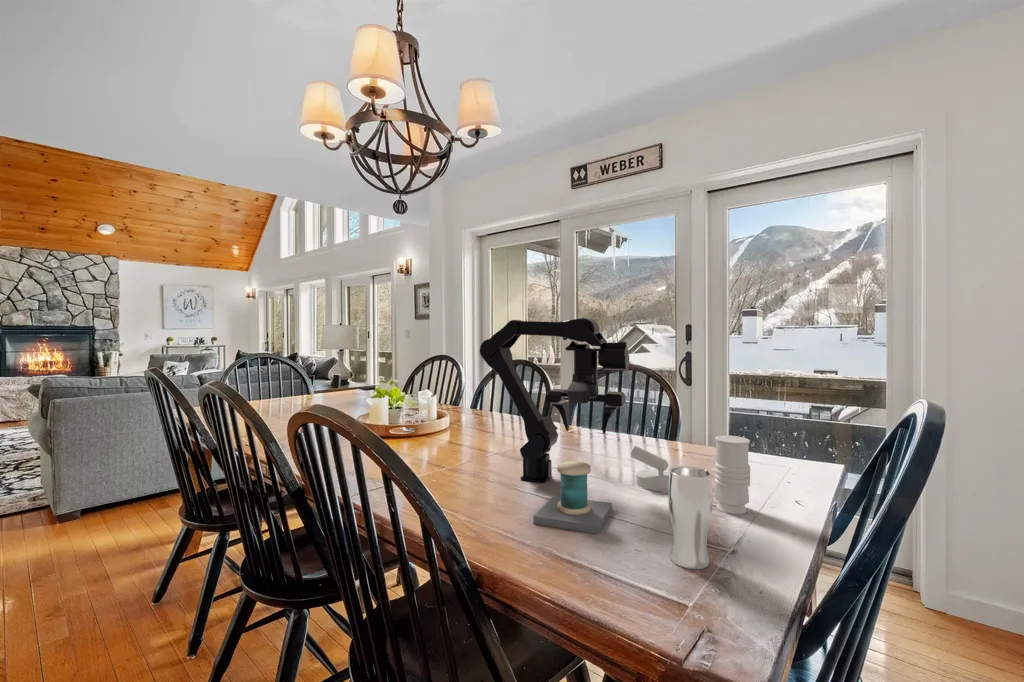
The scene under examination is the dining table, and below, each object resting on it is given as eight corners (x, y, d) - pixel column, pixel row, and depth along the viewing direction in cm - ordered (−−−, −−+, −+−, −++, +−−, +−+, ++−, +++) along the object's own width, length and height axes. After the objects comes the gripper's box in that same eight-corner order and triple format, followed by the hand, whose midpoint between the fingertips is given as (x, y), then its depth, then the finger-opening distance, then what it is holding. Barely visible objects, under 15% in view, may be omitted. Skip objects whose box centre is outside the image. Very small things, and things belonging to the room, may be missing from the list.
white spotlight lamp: (629, 441, 126) (670, 443, 124) (629, 478, 126) (670, 480, 124) (631, 449, 117) (674, 451, 115) (630, 489, 118) (674, 491, 116)
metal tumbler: (661, 552, 85) (661, 466, 84) (699, 550, 85) (700, 465, 85) (678, 572, 78) (678, 478, 77) (720, 570, 78) (721, 477, 78)
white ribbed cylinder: (754, 515, 101) (754, 443, 100) (718, 513, 102) (718, 442, 101) (744, 503, 107) (745, 436, 107) (711, 501, 109) (711, 434, 108)
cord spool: (550, 509, 101) (550, 465, 101) (571, 500, 106) (571, 459, 105) (576, 518, 96) (576, 472, 96) (597, 509, 101) (597, 465, 100)
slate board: (533, 523, 97) (533, 515, 97) (553, 501, 109) (553, 495, 109) (598, 534, 92) (598, 526, 92) (612, 510, 104) (612, 503, 104)
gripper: (538, 370, 117) (538, 435, 117) (617, 373, 109) (617, 442, 110) (553, 367, 127) (553, 426, 127) (626, 369, 119) (626, 432, 120)
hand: (585, 432), depth 121 cm, fingers open, 9 cm apart
